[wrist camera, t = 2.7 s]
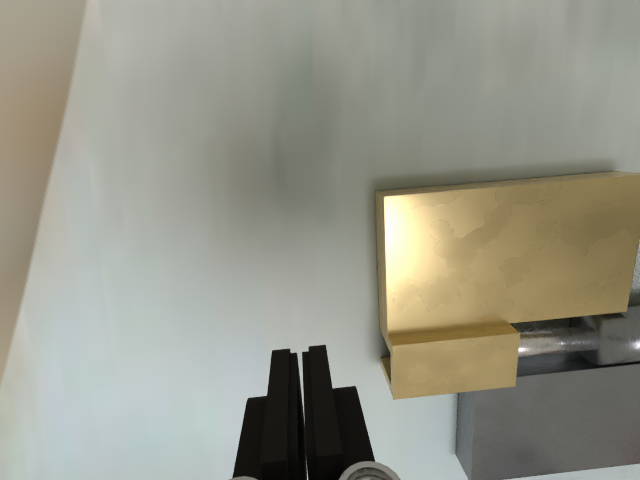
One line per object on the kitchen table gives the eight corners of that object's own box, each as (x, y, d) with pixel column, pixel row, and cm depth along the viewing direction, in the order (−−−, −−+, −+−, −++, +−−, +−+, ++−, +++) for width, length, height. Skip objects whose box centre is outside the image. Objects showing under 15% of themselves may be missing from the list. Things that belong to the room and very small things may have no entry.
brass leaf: (615, 171, 23) (672, 175, 19) (589, 343, 26) (633, 373, 23) (375, 191, 22) (389, 199, 19) (380, 365, 26) (393, 399, 22)
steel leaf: (672, 291, 26) (733, 315, 22) (642, 433, 29) (690, 473, 26) (447, 314, 25) (472, 342, 21) (444, 456, 28) (464, 500, 25)
